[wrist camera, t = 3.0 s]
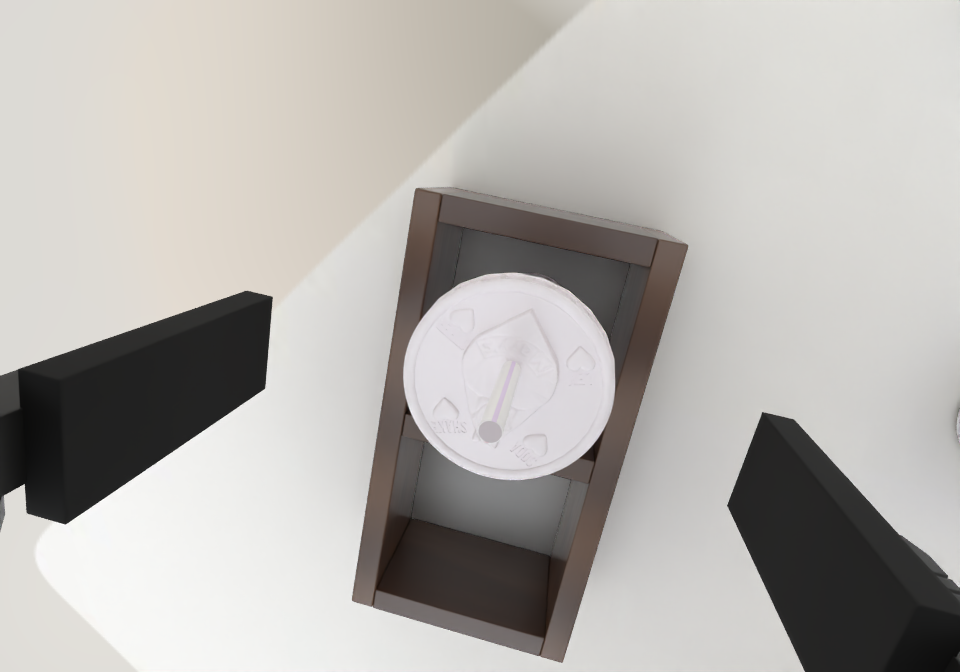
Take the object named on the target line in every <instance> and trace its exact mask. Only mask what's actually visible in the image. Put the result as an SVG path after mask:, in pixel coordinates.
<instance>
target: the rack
mask: <svg viewBox="0 0 960 672" xmlns="http://www.w3.org/2000/svg"><path fill="white" fill-rule="evenodd" d="M463 228H468V229H473V230H477V231H482V232H487V233H491V234H496V235H501V236H505V237H510V238H515V239H519V240H524V241H529V242H533V243H538V244H543V245H547V246H552V247H556V248H561V249H566V250H570V251H575V252H580V253H584V254H589V255H594V256H598V257H603V258H608V259H612V260H617V261H622V262H626V263H631V264H630V267H629V271H628V275H627V278H626V282H625V286H624V289H623V293H622V297H621V300H620V304H619V307H618V311H617V315H616V318H615V322H614V326H613V329H612V333H611V337H610V340H609V344H610V347H611V350H612V353H613V356H614V361H615V395H614V402H613V406H612V410H611V413H610V416H609V419H608V421H607V424H606V426H605V428H604V430H603V431H602V433H601V434H600V436H599V438H598V439H597V440H596V442H595V443H594V444H593V445H592V446H591V447H590V449H589V450H588V451H587V452H586V453H585V454H583V455H582V456H581V457H580V458H579V459H577V460H576V461H574V462H573V463H572V464H570V465H568V466H567V467H565V468H563V469H561V470H559V471H556V472H554V473H552V474H551V475H555V476H559V477H563V478H567V479H571V483H570V486H569V490H568V494H567V497H566V501H565V505H564V508H563V512H562V515H561V519H560V523H559V526H558V530H557V534H556V537H555V541H554V545H553V548H552V552H551V556H548V555H544V554H540V553H537V552H533V551H529V550H526V549H522V548H518V547H515V546H511V545H507V544H504V543H500V542H496V541H493V540H489V539H486V538H482V537H478V536H475V535H471V534H467V533H464V532H460V531H456V530H453V529H449V528H445V527H442V526H438V525H434V524H431V523H427V522H423V521H420V520H416V519H412V518H411V513H412V507H413V502H414V496H415V491H416V485H417V480H418V474H419V469H420V463H421V458H422V452H423V447H424V442H427V443H430V442H429V441H428V440H427V439H426V437H425V436H424V435H423V433H422V432H421V431H420V429H419V427H418V426H417V424H416V422H415V420H414V418H413V416H412V414H411V412H410V409H409V406H408V403H407V399H406V396H405V390H404V381H403V368H404V360H405V355H406V351H407V347H408V344H409V341H410V339H411V337H412V335H413V332H414V330H415V329H416V327H417V325H418V324H419V322H420V321H421V320H422V318H423V317H424V315H425V314H426V313H427V312H428V311H429V309H430V308H431V307H432V306H433V305H434V303H435V302H436V301H437V300H438V299H439V298H440V297H441V296H443V295H444V294H446V293H447V292H449V291H450V290H452V288H453V282H454V277H455V271H456V266H457V260H458V255H459V249H460V244H461V239H462V233H463ZM687 249H688V245H687V244H685V243H683V242H682V241H680V240H678V239H676V238H674V237H672V236H670V235H668V234H667V233H665V232H663V231H659V230H654V229H649V228H644V227H639V226H635V225H630V224H625V223H620V222H615V221H610V220H606V219H601V218H596V217H591V216H586V215H582V214H577V213H572V212H567V211H562V210H558V209H553V208H548V207H543V206H538V205H533V204H529V203H524V202H519V201H514V200H509V199H505V198H500V197H495V196H490V195H485V194H480V193H476V192H469V191H466V190H461V189H456V188H451V187H441V188H416V190H415V194H414V200H413V207H412V213H411V220H410V226H409V232H408V239H407V245H406V252H405V258H404V265H403V271H402V278H401V284H400V291H399V297H398V304H397V310H396V317H395V323H394V330H393V336H392V343H391V349H390V356H389V362H388V369H387V375H386V381H385V388H384V394H383V401H382V407H381V414H380V420H379V427H378V433H377V440H376V446H375V453H374V459H373V466H372V472H371V479H370V485H369V492H368V498H367V505H366V511H365V518H364V524H363V530H362V537H361V543H360V550H359V556H358V563H357V569H356V576H355V582H354V589H353V595H352V601H354V602H357V603H360V604H364V605H367V606H373V608H376V609H379V610H383V611H386V612H390V613H393V614H397V615H400V616H403V617H407V618H410V619H414V620H417V621H420V622H424V623H427V624H431V625H434V626H438V627H441V628H444V629H448V630H451V631H455V632H458V633H462V634H465V635H468V636H472V637H475V638H479V639H482V640H486V641H489V642H492V643H496V644H499V645H503V646H506V647H509V648H513V649H516V650H520V651H523V652H527V653H530V654H533V655H537V656H541V657H544V658H547V659H551V660H554V661H558V662H561V663H562V662H563V660H564V657H565V653H566V650H567V647H568V643H569V640H570V637H571V634H572V630H573V627H574V624H575V620H576V617H577V614H578V610H579V607H580V604H581V600H582V597H583V594H584V590H585V587H586V584H587V581H588V577H589V574H590V571H591V567H592V564H593V561H594V557H595V554H596V551H597V547H598V544H599V541H600V537H601V534H602V531H603V528H604V524H605V521H606V518H607V514H608V511H609V508H610V504H611V501H612V498H613V494H614V491H615V488H616V484H617V481H618V478H619V474H620V471H621V468H622V465H623V461H624V458H625V455H626V451H627V448H628V445H629V441H630V438H631V435H632V431H633V428H634V425H635V421H636V418H637V415H638V412H639V408H640V405H641V402H642V398H643V395H644V392H645V388H646V385H647V382H648V378H649V375H650V372H651V368H652V365H653V362H654V359H655V355H656V352H657V349H658V345H659V342H660V339H661V335H662V332H663V329H664V325H665V322H666V319H667V315H668V312H669V309H670V306H671V302H672V299H673V296H674V292H675V289H676V286H677V282H678V279H679V276H680V272H681V269H682V266H683V262H684V259H685V256H686V253H687ZM410 518H411V519H410Z"/></svg>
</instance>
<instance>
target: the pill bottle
mask: <svg viewBox="0 0 960 672" xmlns="http://www.w3.org/2000/svg"><path fill="white" fill-rule="evenodd" d="M956 430H957V436H958V440H959V443H960V410H959V413H958V417H957V424H956Z"/></svg>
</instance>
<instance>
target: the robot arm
mask: <svg viewBox="0 0 960 672" xmlns="http://www.w3.org/2000/svg"><path fill="white" fill-rule="evenodd" d="M272 299H273V297H271V296H267V295H263V294H258V293H254V292H250V291H244V292H242V293H239V294H236V295H233V296H230V297H227V298H224V299H221V300H218V301H215V302H212V303H209V304H207V305H204V306H201V307H198V308H195V309H192V310H189V311H186V312H183V313H180V314H178V315H175V316H172V317H169V318H166V319H163V320H160V321H157V322H154V323H151V324H149V325H146V326H143V327H140V328H137V329H134V330H131V331H128V332H125V333H122V334H119V335H117V336H114V337H111V338H108V339H105V340H102V341H99V342H96V343H93V344H90V345H88V346H85V347H82V348H79V349H76V350H73V351H70V352H67V353H64V354H61V355H58V356H55V357H53V358H50V359H47V360H44V361H41V362H38V363H35V364H32V365H30V366H26V367H24V368H21V369H18V370H16V371H13V372H10V373H7V374H4V375H2V376H0V530H1V526H2V523H3V520H4V516H5V509H4V495H5V494H7V493H9V492H11V491H13V490H14V489H16V488H18V487H20V486H22V485H23V484H25V493H26V510H27V513H28V514H31V515H34V516H38V517H41V518H45V519H48V520H52V521H55V522H59V523H62V524H67V523H69V522H70V521H72V520H73V519H74V518H76V517H77V516H79V515H80V514H82V513H83V512H85V511H86V510H88V509H89V508H91V507H92V506H94V505H95V504H96V503H98V502H99V501H101V500H102V499H104V498H105V497H107V496H108V495H110V494H111V493H113V492H114V491H116V490H117V489H119V488H120V487H121V486H123V485H124V484H126V483H127V482H129V481H130V480H132V479H133V478H135V477H136V476H138V475H139V474H141V473H142V472H143V471H145V470H146V469H148V468H149V467H151V466H152V465H154V464H155V463H157V462H158V461H160V460H161V459H163V458H164V457H165V456H167V455H168V454H170V453H171V452H173V451H174V450H176V449H177V448H179V447H180V446H182V445H183V444H185V443H186V442H187V441H189V440H190V439H192V438H193V437H195V436H196V435H198V434H199V433H201V432H202V431H204V430H205V429H207V428H208V427H209V426H211V425H212V424H214V423H215V422H217V421H218V420H220V419H221V418H223V417H224V416H226V415H227V414H229V413H230V412H231V411H233V410H234V409H236V408H237V407H239V406H240V405H242V404H243V403H245V402H246V401H248V400H249V399H251V398H252V397H253V396H255V395H256V394H258V393H259V392H261V391H262V390H264V389H265V384H266V372H267V360H268V348H269V336H270V323H271V311H272ZM727 506H728V508H729V510H730V512H731V515H732V517H733V519H734V521H735V523H736V525H737V527H738V530H739V532H740V534H741V536H742V538H743V540H744V542H745V544H746V547H747V549H748V551H749V553H750V555H751V557H752V559H753V562H754V564H755V566H756V568H757V570H758V572H759V574H760V576H761V579H762V581H763V583H764V585H765V587H766V589H767V591H768V594H769V596H770V598H771V600H772V602H773V604H774V606H775V609H776V611H777V613H778V615H779V617H780V619H781V621H782V623H783V626H784V628H785V630H786V632H787V634H788V636H789V638H790V641H791V643H792V645H793V647H794V649H795V651H796V653H797V656H798V658H799V660H800V662H801V664H802V666H803V668H804V670H805V672H960V588H959V587H958V586H957V585H956V584H955V583H954V582H953V581H952V580H950V579H948V575H947V574H946V573H945V572H944V571H943V570H942V569H941V568H940V567H939V566H938V565H937V564H936V563H935V562H934V560H933V559H932V558H931V557H930V556H929V555H927V554H926V553H925V552H923V551H922V550H921V549H919V548H918V547H916V546H915V545H914V544H912V543H911V542H910V541H908V540H907V539H906V538H904V537H903V536H901V535H899V534H898V533H897V532H896V531H895V530H894V529H893V528H892V527H891V525H890V524H889V523H888V522H887V521H886V520H885V519H884V518H883V517H882V516H881V514H880V513H879V512H878V511H877V510H876V509H875V508H874V507H873V506H872V505H871V503H870V502H869V501H868V500H867V499H866V498H865V497H864V496H863V495H862V494H861V492H860V491H859V490H858V489H857V488H856V487H855V486H854V485H853V484H852V483H851V482H850V480H849V479H848V478H847V477H846V476H845V475H844V474H843V473H842V472H841V471H840V469H839V468H838V467H837V466H836V465H835V464H834V463H833V462H832V461H831V460H830V458H829V457H828V456H827V455H826V454H825V453H824V452H823V451H822V450H821V449H820V448H819V446H818V445H817V444H816V443H815V442H814V441H813V440H812V439H811V438H810V437H809V435H808V434H807V433H806V432H805V431H804V430H803V429H802V428H801V427H800V426H799V424H798V423H797V422H796V421H795V420H794V419H790V418H785V417H781V416H777V415H773V414H768V413H764V412H762V415H761V418H760V420H759V423H758V426H757V428H756V431H755V434H754V436H753V439H752V441H751V444H750V447H749V449H748V452H747V455H746V457H745V460H744V463H743V465H742V468H741V471H740V473H739V476H738V479H737V481H736V484H735V486H734V489H733V492H732V494H731V497H730V500H729V502H728V505H727Z"/></svg>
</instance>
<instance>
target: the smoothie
mask: <svg viewBox="0 0 960 672" xmlns="http://www.w3.org/2000/svg"><path fill="white" fill-rule="evenodd" d="M403 381H404V390H405V396H406V399H407V403H408V406H409V409H410V412H411V414H412V416H413V418H414V420H415V422H416V424H417V426H418V427H419V429H420V431H421V432H422V433H423V435H424V436H425V437H426V439H427V440H428V441H429V442H430V443H431V444H432V446H433V447H434V448H436V449H437V450H438V451H439V452H440V453H441V454H442V455H444V456H445V457H446V458H447V459H449V460H450V461H452V462H453V463H455V464H457V465H458V466H460V467H462V468H464V469H466V470H468V471H471V472H473V473H476V474H479V475H482V476H486V477H490V478H495V479H502V480H526V479H533V478H538V477H542V476H546V475H549V474H552V473H554V472H556V471H559V470H561V469H563V468H565V467H567V466H568V465H570V464H572V463H573V462H574V461H576V460H577V459H579V458H580V457H581V456H582V455H583V454H585V453H586V452H587V451H588V450H589V449H590V447H591V446H592V445H593V444H594V443H595V442H596V440H597V439H598V438H599V436H600V434H601V433H602V431H603V430H604V428H605V426H606V424H607V421H608V419H609V416H610V413H611V410H612V406H613V402H614V395H615V361H614V356H613V353H612V350H611V347H610V344H609V340H608V337H607V334H606V332H605V331H604V329H603V328H602V326H601V325H600V323H599V321H598V320H597V318H596V317H595V315H594V314H593V312H592V311H591V310H590V309H589V308H588V307H587V306H586V305H585V304H584V303H583V302H581V301H580V300H579V299H578V298H577V297H576V296H575V295H573V294H572V293H571V292H570V291H569V290H567V289H565V288H563V287H561V286H560V285H559V284H558V283H557V282H556V281H555V280H553V279H552V278H550V277H548V276H545V275H542V274H538V273H522V274H521V273H516V272H514V273H498V274H486V275H483V276H480V277H477V278H474V279H471V280H468V281H466V282H463V283H460V284H459V285H457V286H456V287H455V288H453V289H452V290H450V291H449V292H447V293H446V294H444V295H443V296H441V297H440V298H439V299H438V300H437V301H436V302H435V303H434V305H433V306H432V307H431V308H430V309H429V311H428V312H427V313H426V314H425V315H424V317H423V318H422V320H421V321H420V322H419V324H418V325H417V327H416V329H415V330H414V332H413V335H412V337H411V339H410V341H409V344H408V347H407V351H406V355H405V360H404V368H403Z"/></svg>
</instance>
